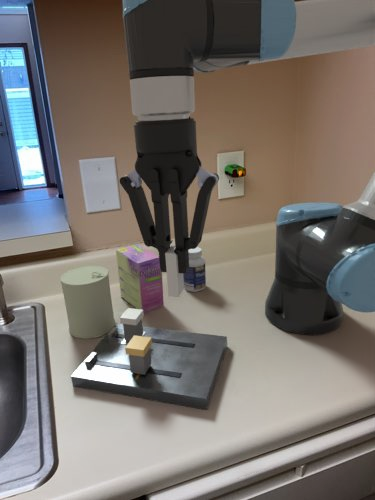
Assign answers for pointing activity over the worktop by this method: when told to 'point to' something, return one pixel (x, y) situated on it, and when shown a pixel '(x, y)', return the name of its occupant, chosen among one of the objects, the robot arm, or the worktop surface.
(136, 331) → the fader
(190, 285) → the pill bottle
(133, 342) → the fader
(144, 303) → the box
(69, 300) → the can
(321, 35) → the robot arm
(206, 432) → the worktop surface
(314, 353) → the worktop surface
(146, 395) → the console
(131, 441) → the worktop surface
